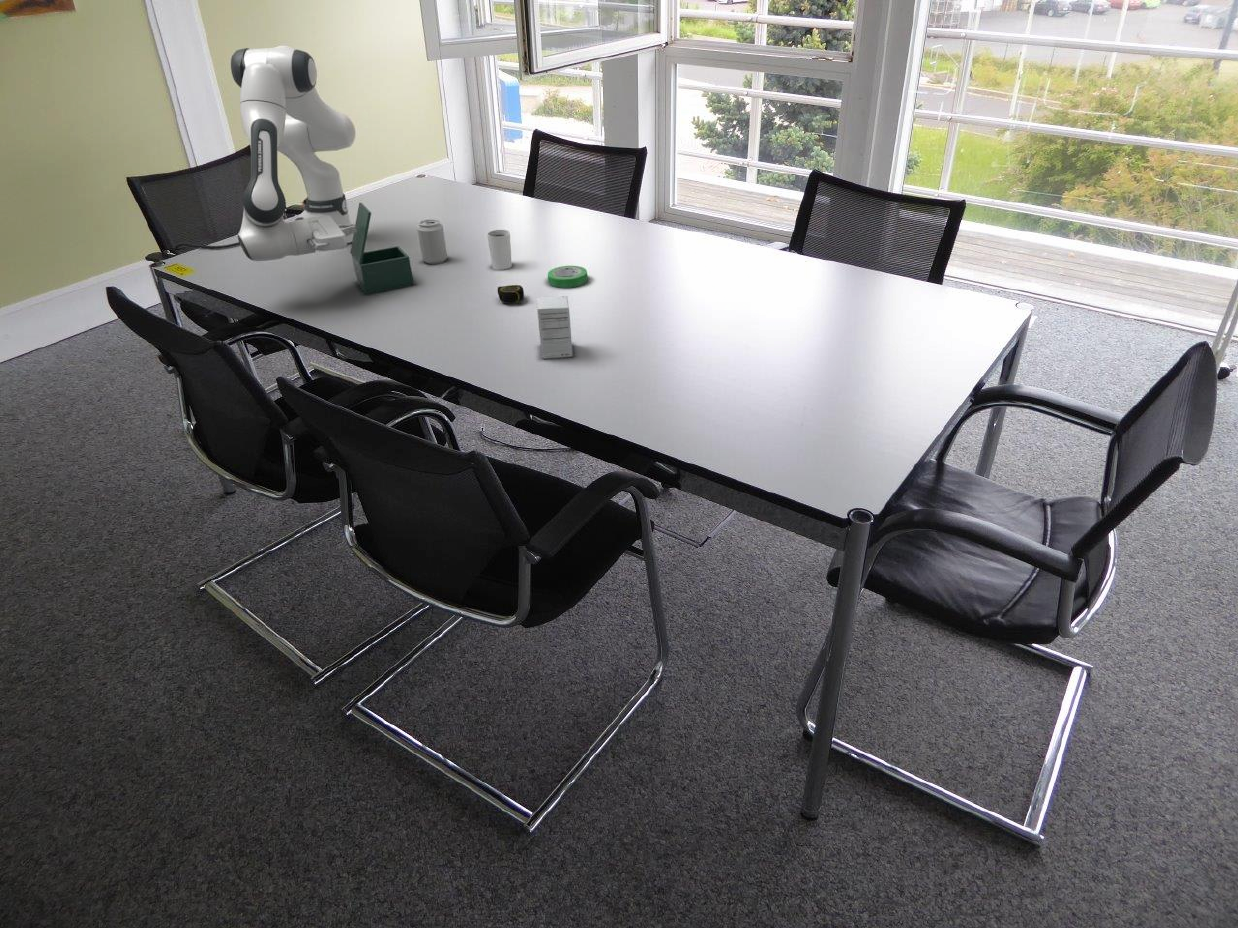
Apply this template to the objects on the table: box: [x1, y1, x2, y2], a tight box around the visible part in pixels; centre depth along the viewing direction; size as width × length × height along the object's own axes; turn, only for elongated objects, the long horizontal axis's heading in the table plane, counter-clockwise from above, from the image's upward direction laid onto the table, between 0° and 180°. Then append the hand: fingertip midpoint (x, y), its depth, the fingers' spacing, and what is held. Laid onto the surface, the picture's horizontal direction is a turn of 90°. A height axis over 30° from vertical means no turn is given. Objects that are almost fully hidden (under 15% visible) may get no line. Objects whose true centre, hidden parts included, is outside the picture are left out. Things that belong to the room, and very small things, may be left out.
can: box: [416, 218, 448, 265], centre depth 261 cm, size 8×8×12 cm
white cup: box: [486, 229, 513, 271], centre depth 255 cm, size 7×7×10 cm
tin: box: [351, 245, 415, 295], centre depth 247 cm, size 14×11×8 cm
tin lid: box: [349, 202, 372, 265], centre depth 239 cm, size 14×11×1 cm
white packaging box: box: [536, 295, 573, 360], centre depth 203 cm, size 7×7×13 cm
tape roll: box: [547, 265, 589, 289], centre depth 245 cm, size 11×11×3 cm
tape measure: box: [497, 284, 525, 304], centre depth 234 cm, size 7×7×4 cm
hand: (356, 228), depth 238 cm, fingers closed
